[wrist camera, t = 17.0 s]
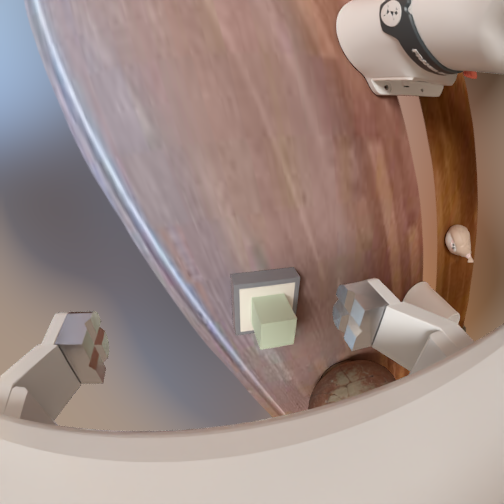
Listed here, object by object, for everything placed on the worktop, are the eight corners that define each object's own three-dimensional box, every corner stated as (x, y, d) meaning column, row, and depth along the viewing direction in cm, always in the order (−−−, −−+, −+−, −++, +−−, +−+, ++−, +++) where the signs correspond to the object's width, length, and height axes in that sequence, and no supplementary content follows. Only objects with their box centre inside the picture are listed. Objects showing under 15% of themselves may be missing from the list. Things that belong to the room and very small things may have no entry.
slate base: (293, 267, 45) (300, 277, 42) (288, 315, 49) (294, 327, 47) (230, 274, 43) (233, 285, 40) (232, 323, 47) (235, 336, 45)
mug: (391, 325, 59) (419, 359, 48) (388, 302, 54) (420, 338, 44) (428, 299, 58) (458, 329, 48) (428, 274, 54) (462, 305, 44)
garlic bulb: (436, 247, 51) (461, 265, 44) (445, 219, 48) (472, 236, 41) (452, 247, 52) (476, 264, 45) (461, 222, 50) (486, 237, 43)
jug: (364, 384, 69) (411, 466, 44) (293, 406, 66) (331, 503, 40) (384, 331, 59) (454, 428, 33) (298, 356, 56) (356, 483, 30)
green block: (283, 293, 43) (297, 318, 37) (281, 318, 45) (293, 343, 40) (251, 297, 42) (261, 324, 36) (251, 322, 44) (260, 349, 39)
